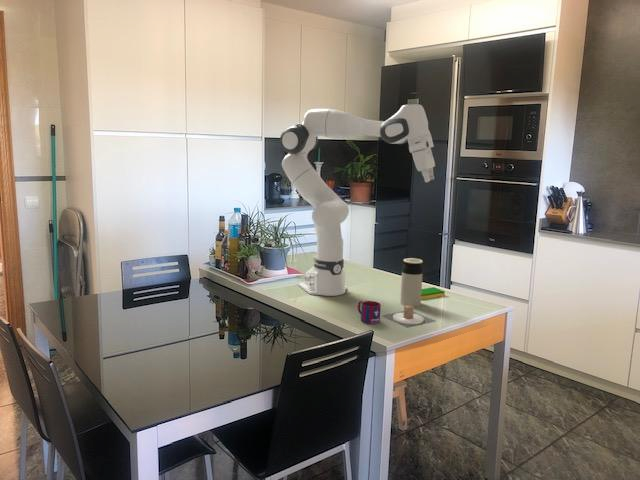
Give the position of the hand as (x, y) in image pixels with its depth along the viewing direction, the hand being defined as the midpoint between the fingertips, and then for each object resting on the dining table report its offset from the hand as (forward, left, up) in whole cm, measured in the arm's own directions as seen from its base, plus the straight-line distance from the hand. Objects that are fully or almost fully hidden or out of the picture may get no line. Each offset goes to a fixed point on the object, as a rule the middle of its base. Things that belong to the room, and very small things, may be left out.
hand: (429, 180), depth 198 cm
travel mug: (-2, -4, -49) cm, 49 cm away
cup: (+5, -31, -49) cm, 59 cm away
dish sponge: (-8, +11, -50) cm, 51 cm away
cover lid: (+12, -18, -49) cm, 53 cm away
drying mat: (+11, -17, -49) cm, 53 cm away
